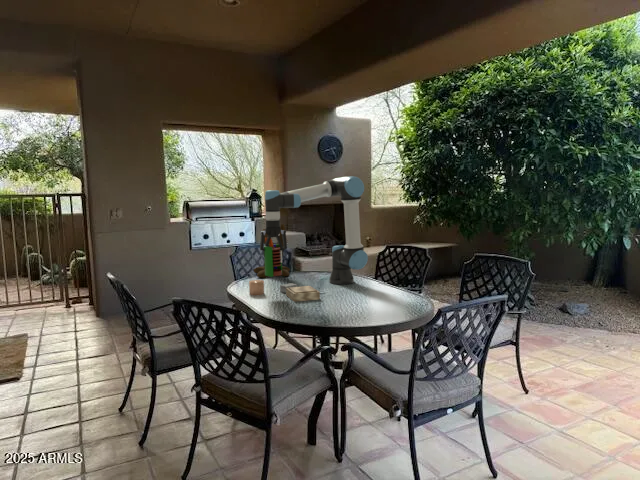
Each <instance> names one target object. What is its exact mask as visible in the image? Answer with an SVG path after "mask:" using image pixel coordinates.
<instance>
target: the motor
mask: <svg viewBox="0 0 640 480" xmlns="http://www.w3.org/2000/svg"><path fill="white" fill-rule="evenodd" d="M266 240H267V238H265V242H266ZM273 243H274V242H273V239H272V238H271V239H270V242H269V245H268V247H265V245H263V248H264V249H265V251H264V252H265V257H264V256H263V258H264V259H263V260H264V261H265V276H269V277H268V278H272V277H273V278H274V277H279V275H282V266H283V262H282V263H280V262H281V260H279V259H281V257H279V256H281V254H279V253H280V251H279V250H281V249H280V246H279V244H277V243H274V244H273ZM264 252H263V253H264Z"/></svg>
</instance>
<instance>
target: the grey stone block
mask: <svg viewBox="0 0 640 480" xmlns="http://www.w3.org/2000/svg"><path fill="white" fill-rule="evenodd" d="M289 287H298V284H296V283H292V282H291V283H286V284H280V285H279V291H280V293H283V294H286V288H289Z"/></svg>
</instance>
